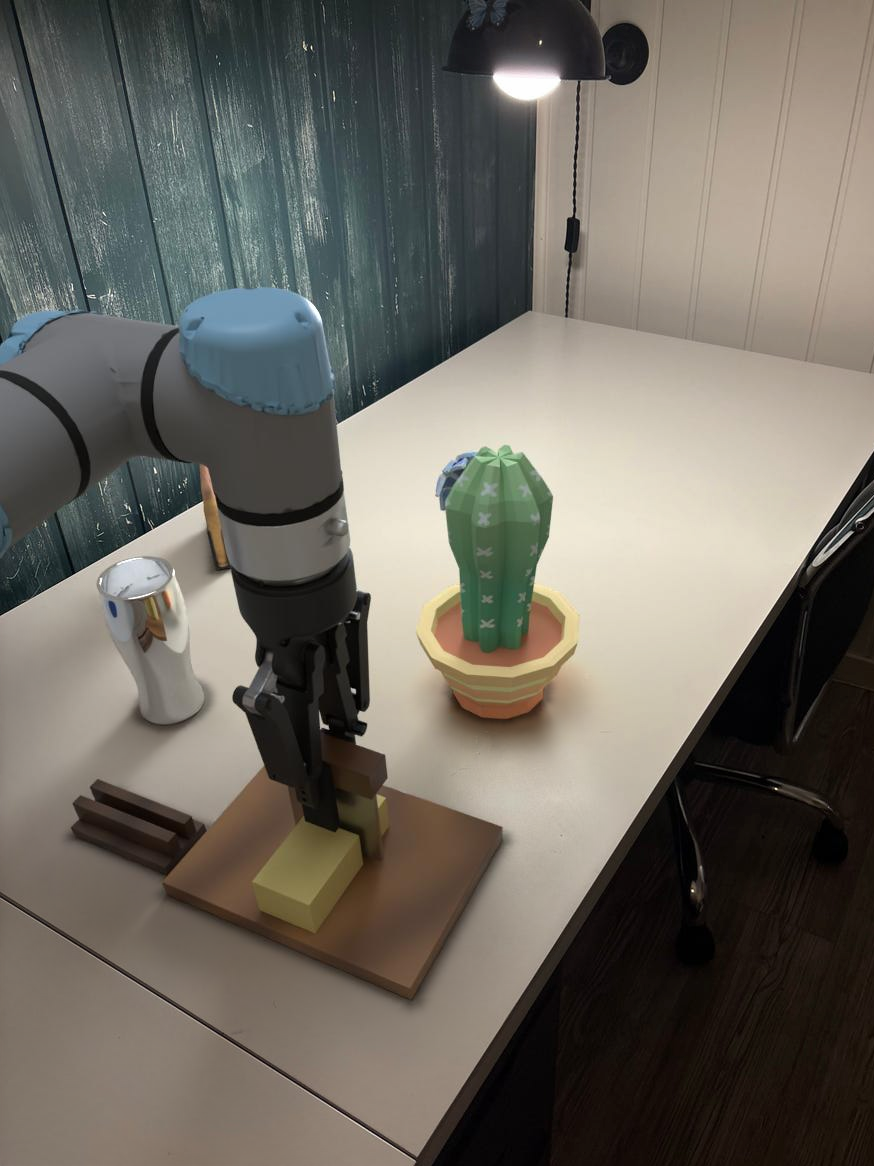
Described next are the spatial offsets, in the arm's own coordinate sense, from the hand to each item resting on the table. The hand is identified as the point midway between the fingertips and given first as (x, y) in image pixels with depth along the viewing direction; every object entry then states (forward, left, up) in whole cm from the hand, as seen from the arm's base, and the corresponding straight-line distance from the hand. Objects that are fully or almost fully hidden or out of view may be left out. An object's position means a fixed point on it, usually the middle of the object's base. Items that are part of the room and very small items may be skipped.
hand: (333, 808), depth 73 cm
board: (0, -1, -6) cm, 6 cm away
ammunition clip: (-38, +34, -6) cm, 52 cm away
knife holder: (-17, -5, -6) cm, 19 cm away
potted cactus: (+3, +24, -6) cm, 25 cm away
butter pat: (0, +2, -5) cm, 5 cm away
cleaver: (0, 0, -4) cm, 4 cm away
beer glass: (-25, +9, -6) cm, 27 cm away
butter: (0, -4, -5) cm, 6 cm away
